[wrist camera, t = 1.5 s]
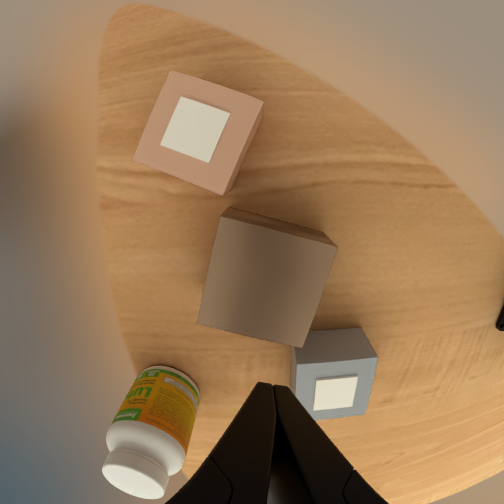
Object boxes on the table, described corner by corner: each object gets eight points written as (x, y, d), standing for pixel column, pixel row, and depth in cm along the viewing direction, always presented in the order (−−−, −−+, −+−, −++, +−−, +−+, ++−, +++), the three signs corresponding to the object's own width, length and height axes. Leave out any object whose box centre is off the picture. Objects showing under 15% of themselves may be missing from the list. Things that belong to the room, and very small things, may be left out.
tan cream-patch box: (263, 116, 17) (264, 100, 13) (230, 190, 18) (222, 196, 14) (188, 89, 17) (169, 68, 13) (157, 161, 18) (130, 160, 14)
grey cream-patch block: (360, 326, 20) (379, 358, 16) (352, 380, 22) (366, 416, 17) (291, 331, 20) (297, 366, 16) (290, 385, 22) (294, 423, 18)
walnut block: (322, 231, 19) (338, 247, 15) (295, 316, 20) (302, 348, 16) (228, 206, 19) (220, 216, 15) (208, 295, 20) (196, 323, 16)
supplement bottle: (159, 351, 21) (111, 446, 12) (214, 392, 22) (194, 494, 13) (126, 385, 22) (79, 469, 13) (176, 421, 23) (148, 509, 14)
